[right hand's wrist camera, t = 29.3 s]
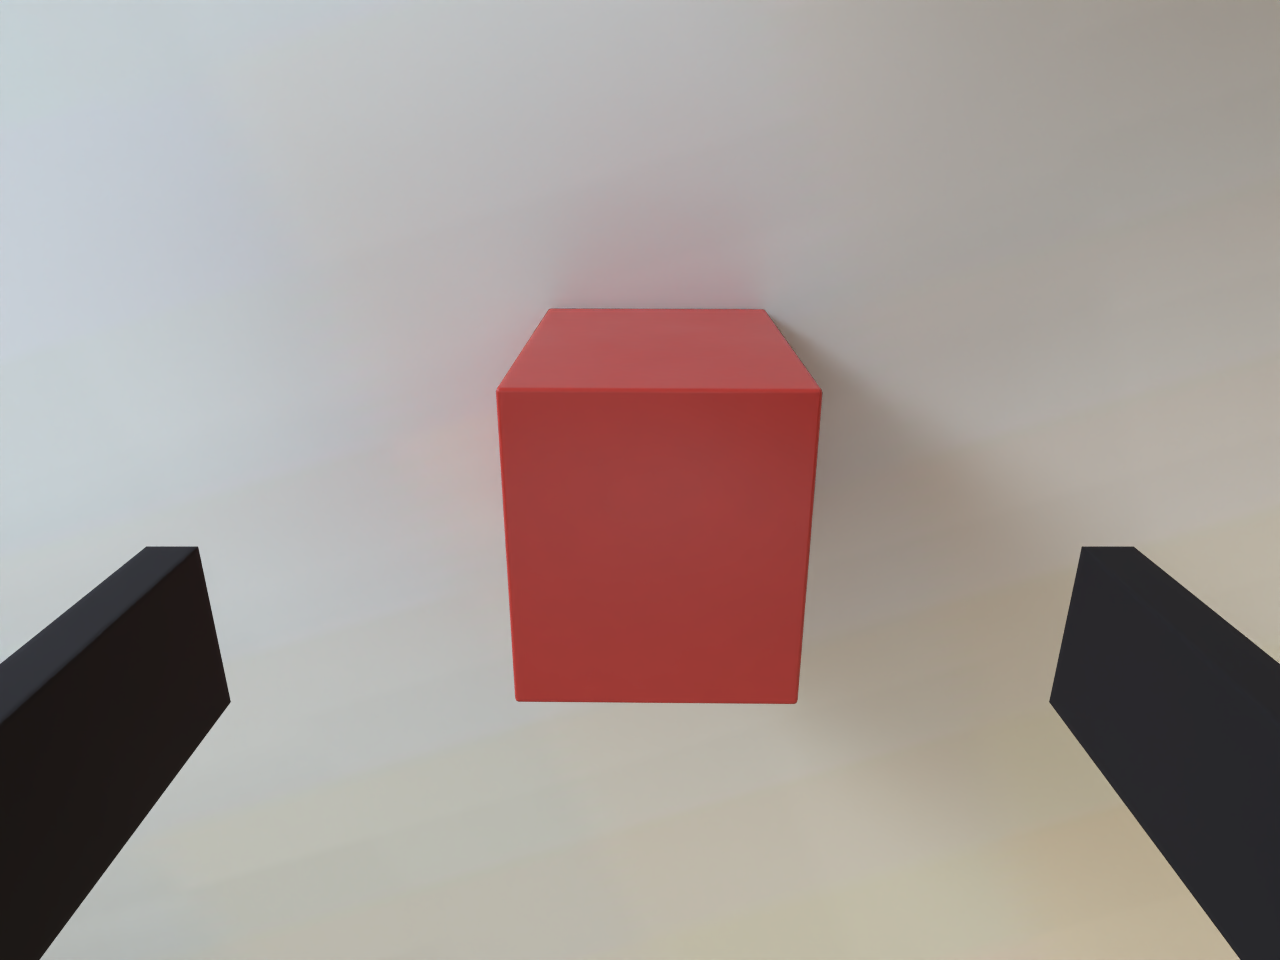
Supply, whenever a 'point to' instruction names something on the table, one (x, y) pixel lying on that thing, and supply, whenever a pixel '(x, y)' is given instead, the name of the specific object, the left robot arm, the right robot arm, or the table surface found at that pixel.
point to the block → (658, 506)
